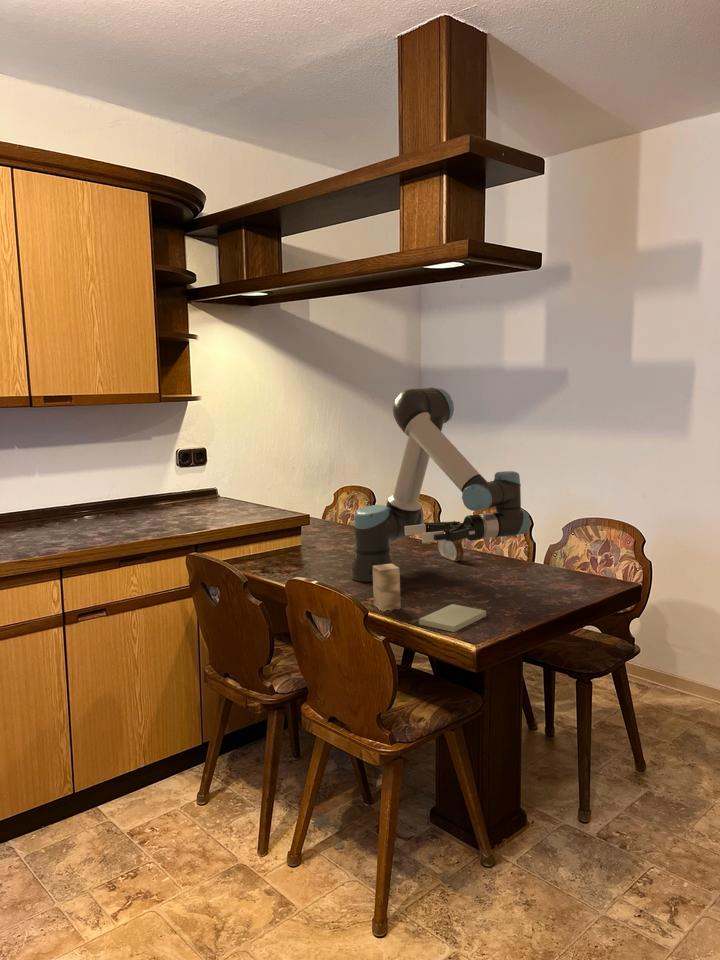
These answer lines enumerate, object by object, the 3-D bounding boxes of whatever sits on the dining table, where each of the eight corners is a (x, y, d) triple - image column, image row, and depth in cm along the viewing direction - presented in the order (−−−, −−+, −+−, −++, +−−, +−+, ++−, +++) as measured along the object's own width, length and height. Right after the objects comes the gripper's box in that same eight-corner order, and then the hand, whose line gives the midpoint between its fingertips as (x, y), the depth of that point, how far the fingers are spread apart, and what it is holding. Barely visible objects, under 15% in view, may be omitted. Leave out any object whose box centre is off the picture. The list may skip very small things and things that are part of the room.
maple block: (392, 603, 215) (391, 563, 213) (400, 608, 209) (399, 568, 208) (373, 605, 213) (372, 565, 211) (381, 611, 207) (379, 570, 206)
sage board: (452, 609, 207) (452, 604, 207) (486, 616, 200) (486, 610, 200) (419, 624, 195) (418, 618, 195) (453, 632, 188) (453, 626, 188)
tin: (464, 563, 259) (463, 540, 258) (456, 564, 258) (456, 541, 257) (444, 554, 273) (443, 532, 272) (436, 555, 272) (436, 533, 271)
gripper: (500, 546, 206) (430, 555, 200) (462, 532, 230) (399, 540, 224) (499, 520, 205) (429, 528, 199) (461, 509, 229) (397, 516, 223)
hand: (413, 534), depth 211 cm, fingers open, 13 cm apart
